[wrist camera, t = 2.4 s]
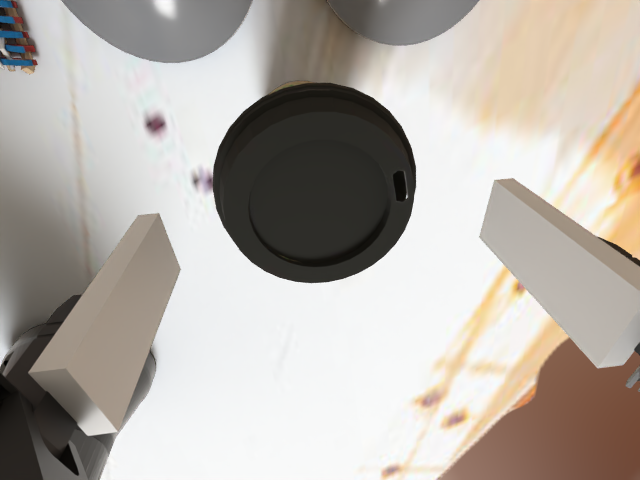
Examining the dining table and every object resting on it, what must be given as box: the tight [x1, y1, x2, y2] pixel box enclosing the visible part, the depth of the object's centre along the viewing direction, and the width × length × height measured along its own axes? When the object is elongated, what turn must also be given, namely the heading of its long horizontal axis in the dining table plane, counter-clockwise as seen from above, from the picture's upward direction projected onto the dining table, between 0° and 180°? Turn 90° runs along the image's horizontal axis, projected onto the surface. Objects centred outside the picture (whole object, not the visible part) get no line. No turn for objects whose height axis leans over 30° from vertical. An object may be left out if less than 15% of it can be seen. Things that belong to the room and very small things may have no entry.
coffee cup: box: [213, 81, 416, 283], centre depth 21 cm, size 10×10×15 cm
